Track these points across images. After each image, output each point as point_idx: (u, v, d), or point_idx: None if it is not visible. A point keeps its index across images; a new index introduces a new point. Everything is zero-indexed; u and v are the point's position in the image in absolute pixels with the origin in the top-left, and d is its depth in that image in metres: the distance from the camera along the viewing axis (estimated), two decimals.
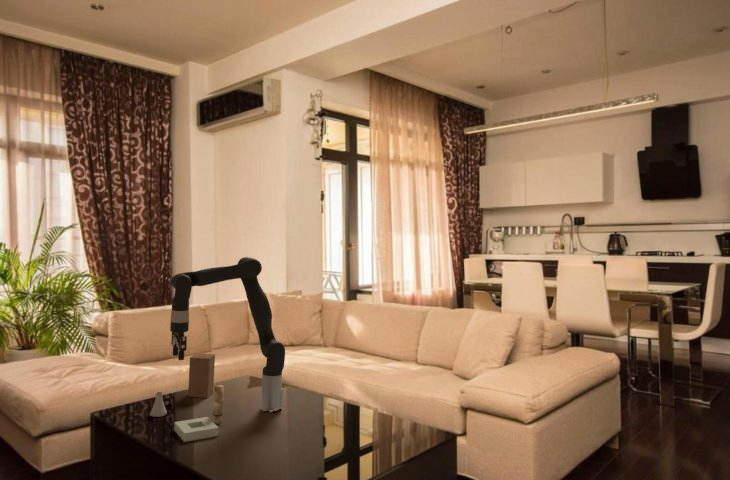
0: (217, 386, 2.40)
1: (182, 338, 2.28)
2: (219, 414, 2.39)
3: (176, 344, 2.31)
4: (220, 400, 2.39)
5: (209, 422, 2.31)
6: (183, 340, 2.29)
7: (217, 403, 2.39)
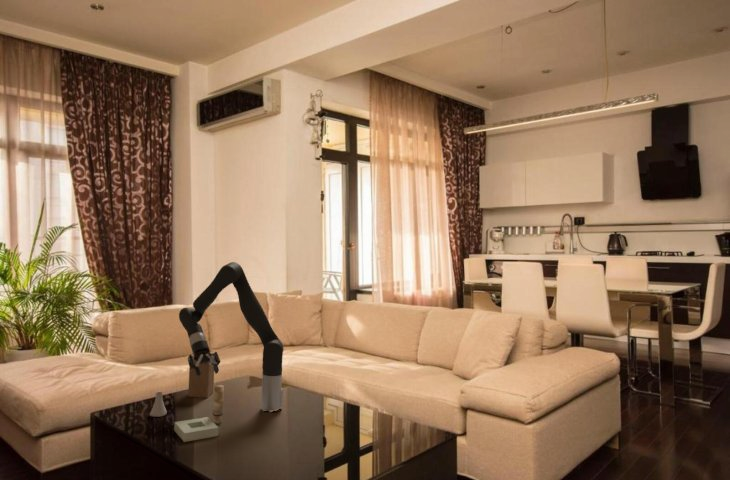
0: (217, 386, 2.40)
1: (188, 358, 2.50)
2: (219, 414, 2.39)
3: None
4: (220, 400, 2.39)
5: (209, 422, 2.31)
6: (188, 359, 2.49)
7: (217, 403, 2.39)
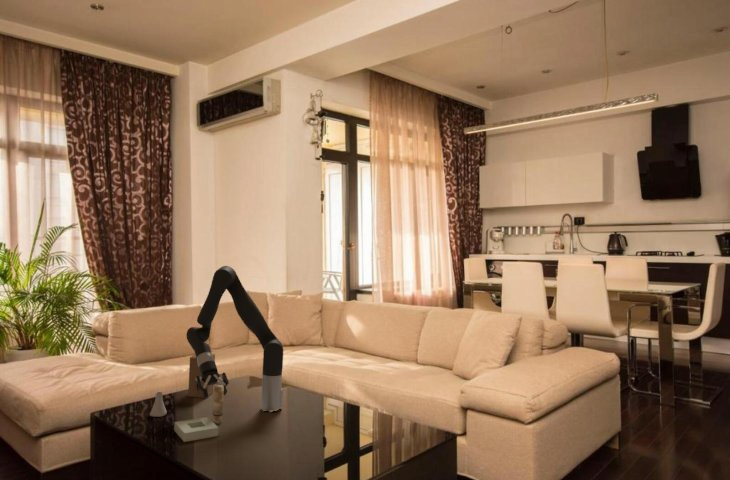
0: (217, 386, 2.40)
1: (195, 379, 2.44)
2: (219, 414, 2.39)
3: None
4: (220, 400, 2.39)
5: (209, 422, 2.31)
6: (196, 380, 2.43)
7: (217, 403, 2.39)
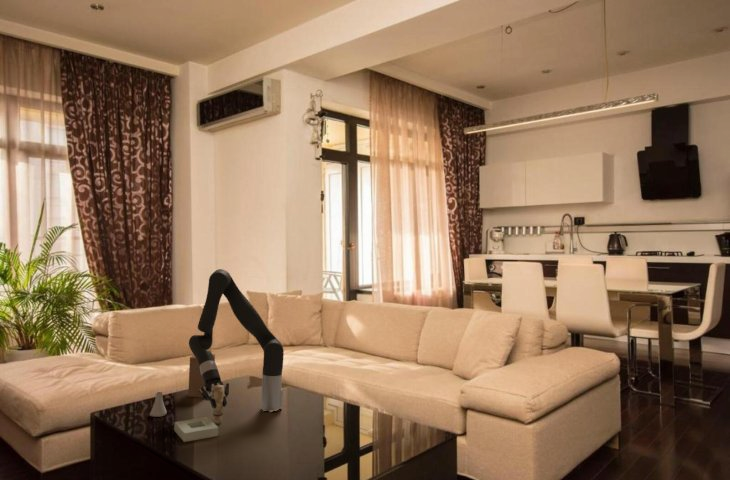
0: (217, 386, 2.40)
1: (200, 391, 2.40)
2: (219, 414, 2.39)
3: None
4: (220, 400, 2.39)
5: (209, 422, 2.31)
6: (201, 392, 2.40)
7: (217, 403, 2.39)
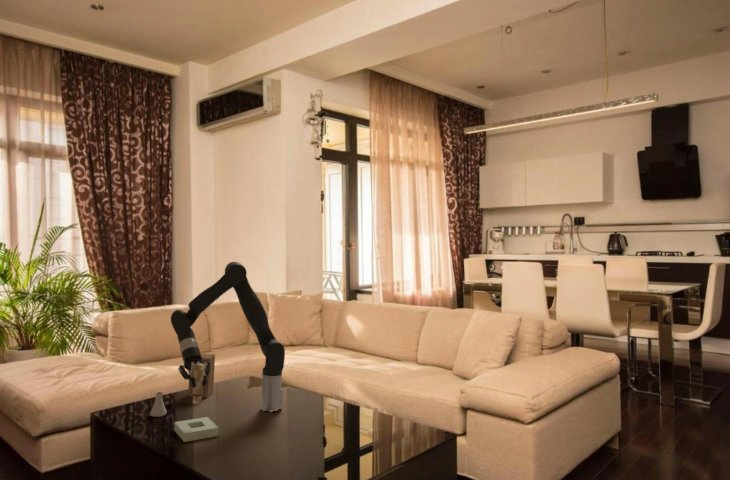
0: (197, 364, 2.27)
1: (178, 369, 2.27)
2: (199, 394, 2.26)
3: None
4: (200, 379, 2.26)
5: (209, 422, 2.31)
6: (180, 370, 2.26)
7: (197, 382, 2.25)
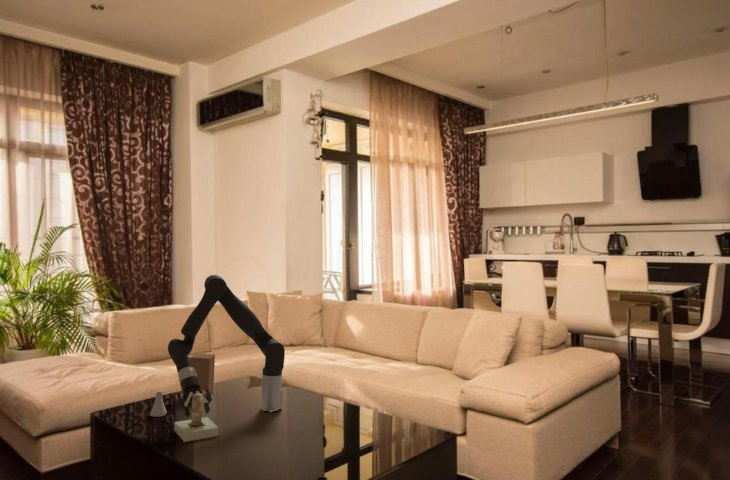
0: (195, 395, 2.27)
1: (176, 396, 2.27)
2: (197, 424, 2.26)
3: None
4: (198, 409, 2.26)
5: (209, 422, 2.31)
6: (177, 398, 2.27)
7: (195, 413, 2.25)
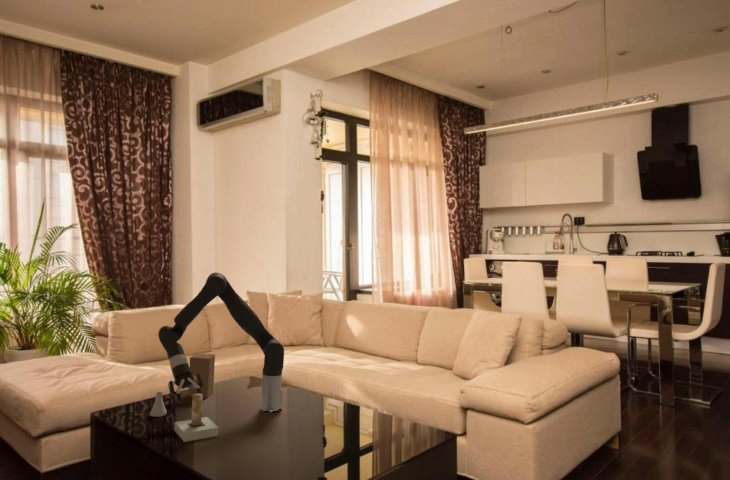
0: (196, 395, 2.27)
1: (168, 384, 2.37)
2: (198, 424, 2.26)
3: None
4: (198, 409, 2.26)
5: (209, 422, 2.31)
6: (169, 385, 2.36)
7: (195, 413, 2.25)
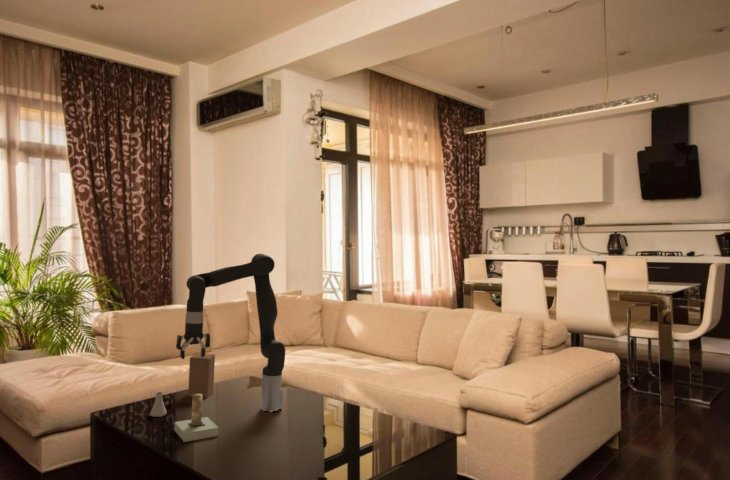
0: (195, 395, 2.27)
1: (177, 336, 2.37)
2: (198, 424, 2.26)
3: (186, 343, 2.40)
4: (198, 409, 2.26)
5: (209, 422, 2.31)
6: (177, 338, 2.36)
7: (195, 413, 2.25)
